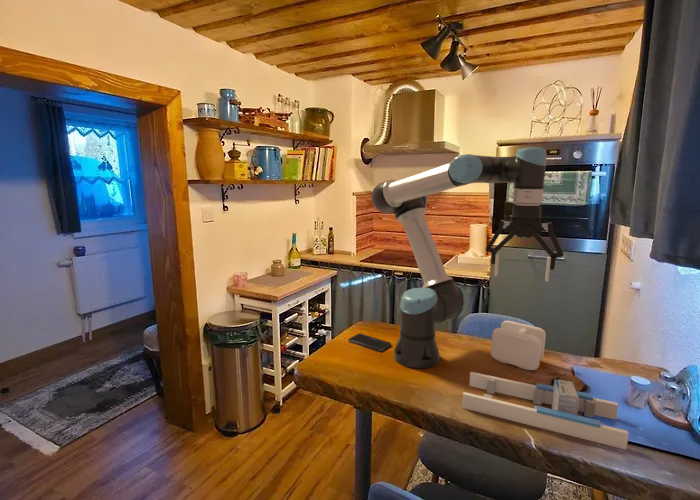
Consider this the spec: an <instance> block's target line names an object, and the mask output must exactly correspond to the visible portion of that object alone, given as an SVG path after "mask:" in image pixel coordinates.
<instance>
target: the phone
mask: <svg viewBox="0 0 700 500" xmlns="http://www.w3.org/2000/svg"><path fill="white" fill-rule="evenodd" d="M348 343H351V344H354V345H357V346H360V347H363V348H365V349H369V350H372V351H375V352H379V353H382V352H384V351H385V350H387V349H388V348H390V347H392V342H390V341H386V340H383V339H379V338H376V337H374V336H370V335H368V334H363V333H357V334H355V335H353V336H351V337H350V338H348Z"/></svg>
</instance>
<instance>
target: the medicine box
mask: <svg viewBox="0 0 700 500" xmlns="http://www.w3.org/2000/svg"><path fill="white" fill-rule="evenodd" d="M578 402H579V397H578V394H577V392H576V389H575V387H574V384H573V382H570V381H564V380H556V379H555V380H554V388H553V398H552V405H551V409H553V410H557V411H561V412H566V413H570V414H574V415H578V412H579V411H578Z"/></svg>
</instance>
